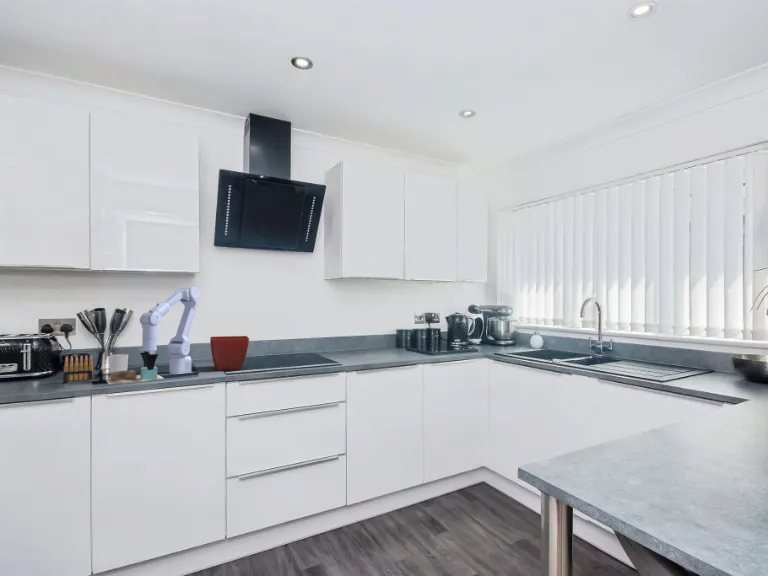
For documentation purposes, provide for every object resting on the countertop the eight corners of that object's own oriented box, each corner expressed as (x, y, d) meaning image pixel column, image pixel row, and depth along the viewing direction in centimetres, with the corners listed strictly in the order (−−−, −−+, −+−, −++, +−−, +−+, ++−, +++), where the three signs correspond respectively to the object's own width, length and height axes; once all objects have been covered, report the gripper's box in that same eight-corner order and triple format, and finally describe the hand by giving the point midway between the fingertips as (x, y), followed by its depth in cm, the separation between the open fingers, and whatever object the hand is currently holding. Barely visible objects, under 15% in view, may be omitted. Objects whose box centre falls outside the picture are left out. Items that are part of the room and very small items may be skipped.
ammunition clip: (93, 380, 185) (93, 354, 186) (92, 381, 184) (93, 354, 184) (63, 383, 180) (64, 355, 181) (62, 383, 179) (63, 356, 179)
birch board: (156, 375, 199) (156, 373, 199) (164, 380, 186) (164, 378, 186) (104, 380, 186) (104, 378, 186) (108, 386, 173) (108, 384, 173)
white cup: (124, 373, 204) (125, 353, 204) (130, 375, 199) (131, 354, 199) (106, 375, 198) (106, 355, 198) (112, 377, 193) (112, 356, 193)
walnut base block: (133, 376, 191) (133, 370, 191) (136, 378, 185) (136, 372, 185) (110, 378, 185) (110, 372, 185) (112, 381, 180) (112, 374, 180)
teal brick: (155, 377, 189) (155, 366, 189) (157, 378, 186) (157, 367, 186) (140, 378, 185) (140, 367, 186) (142, 380, 182) (142, 368, 182)
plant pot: (246, 365, 233) (246, 335, 233) (249, 370, 215) (249, 338, 216) (209, 367, 225) (210, 336, 226) (209, 372, 208) (210, 339, 208)
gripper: (136, 338, 189) (136, 367, 189) (142, 340, 178) (141, 371, 177) (154, 337, 194) (153, 366, 193) (160, 339, 182) (159, 370, 182)
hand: (148, 368), depth 186 cm, fingers open, 7 cm apart
